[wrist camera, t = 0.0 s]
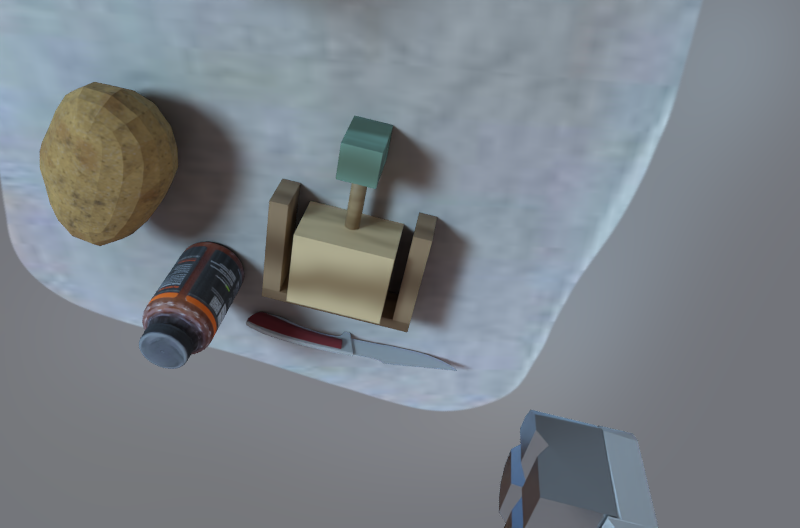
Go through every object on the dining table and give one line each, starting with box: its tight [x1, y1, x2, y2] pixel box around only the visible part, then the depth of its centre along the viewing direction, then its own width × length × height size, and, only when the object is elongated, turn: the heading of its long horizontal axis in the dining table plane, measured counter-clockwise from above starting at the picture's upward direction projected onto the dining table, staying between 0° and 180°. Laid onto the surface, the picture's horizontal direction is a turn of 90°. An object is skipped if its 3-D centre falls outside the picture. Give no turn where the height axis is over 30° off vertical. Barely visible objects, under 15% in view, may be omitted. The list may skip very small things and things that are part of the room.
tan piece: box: [262, 179, 437, 332], centre depth 56 cm, size 10×13×4 cm
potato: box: [40, 82, 178, 246], centre depth 51 cm, size 10×14×8 cm
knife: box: [246, 312, 457, 371], centre depth 62 cm, size 20×1×3 cm, turn 81°
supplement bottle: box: [139, 242, 244, 369], centre depth 56 cm, size 6×6×11 cm
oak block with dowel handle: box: [286, 116, 404, 324], centre depth 52 cm, size 16×8×5 cm, turn 169°
